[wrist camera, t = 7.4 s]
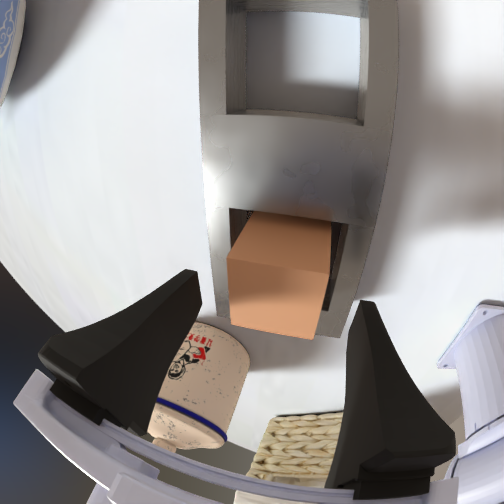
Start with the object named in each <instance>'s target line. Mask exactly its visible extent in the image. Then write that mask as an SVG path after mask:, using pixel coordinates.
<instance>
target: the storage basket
mask: <svg viewBox="0 0 504 504" xmlns="http://www.w3.org/2000/svg"><path fill="white" fill-rule="evenodd" d="M342 417H343V412H340V413H335V414H333V413H328V414H322V415H319V416H316V415H305V416H301V417H299V416H289V417H275V418H272V419H271V420H270V421H269V423H268V427H267V429H266V431H265V433H264V435H263V439H262V440H261V442H260V445H259V448H258V450H257V454H256V455H255V456H254V462H253V463H252V464H251V469H250V470H249V472H248V473H247V474H246V476H249V477H253V478H258V479H262V480H267V481H272V482H278V483H284V484H290V485H298V486H306V487H315V488H324V486H325V483H326V480H327V477H328V474H329V471H330V467H331V464H332V461H333V457H334V453H335V449H336V445H337V441H338V437H339V432H340V428H341V423H342ZM234 504H316V503H305V502H297V501H289V500H282V499H276V498H271V497H265V496H260V495H255V494H251V493H247V492H242V491H238V490H236V493H235V500H234Z"/></svg>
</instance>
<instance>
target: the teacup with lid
mask: <svg viewBox="0 0 504 504" xmlns="http://www.w3.org/2000/svg"><path fill="white" fill-rule="evenodd" d="M249 366H250V358H249V355H248V353H247V351H246V350H245V348H244V347H243V346H242V345H241V344H240V343H239V342H238V341H237V340H236V339H235V338H233V337H232V336H230V335H229V334H227V333H226V332H224V331H222V330H220V329H218V328H215V327H213V326H210V325H207V324H203V323H198V322H195V323H194V324H193V326H192V328H191V330H190V332H189V333H188V335H187V337H186V339H185V340H184V342H183V344H182V345H181V347H180V349H179V351H178V352H177V354H176V356H175V358H174V359H173V361H172V363H171V365H170V368H169V370H168V372H167V375H166V377H165V379H164V382H163V384H162V387H161V390H160V392H159V395H158V398H157V401H156V404H155V407H154V410H153V413H152V416H151V420H150V423H149V427H148V432H149V433H150V434H151V435H152V436H153V437H155V438H156V439H154V440H153V443H152V444H154V445H157V446H159V447H161V448H163V449H166V450H168V451H171V452H173V453H175V451H176V448H180V449H194V448H218V447H221V446H222V445H223V444H224V442H226V441H227V435H226V433H227V430H228V427H229V424H230V421H231V419H232V416H233V413H234V410H235V407H236V405H237V402H238V399H239V396H240V393H241V390H242V387H243V384H244V381H245V378H246V376H247V373H248V370H249Z"/></svg>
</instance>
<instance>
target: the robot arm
mask: <svg viewBox="0 0 504 504" xmlns="http://www.w3.org/2000/svg"><path fill="white" fill-rule="evenodd" d="M201 306H202V299H201V292H200V286H199V280H198V273H197V271H193V270H188V269H185V270H183V271H182V272H180V273H179V274H177V275H176V276H174V277H173V278H171V279H170V280H169V281H167V282H166V283H164V284H163V285H162V286H160V287H159V288H157V289H156V290H154V291H153V292H151V293H150V294H148V295H147V296H145V297H144V298H142V299H140V300H139V301H137V302H136V303H134V304H133V305H131V306H129V307H127V308H126V309H124V310H122V311H120V312H118V313H116V314H114V315H112V316H110V317H108V318H105V319H103V320H101V321H98V322H96V323H94V324H91V325H88V326H86V327H83V328H80V329H76V330H73V331H70V332H65V333H61V334H57V335H53V336H51V338H50V339H49V340H48V341H47V343H46V344H45V345H44V347H43V348H42V349H41V350H40V352H39V353H38V356H39V359H40V360H41V361H42V362H43V364H44V365H45V366H46V367H47V369H48V370H49V371H50V372H51V373H52V374H53V375H54V376H55V378H56V381H55V382H52V380H50V379H49V378H48V377H47V376H45V375H44V374H43V373H41V372H40V371H39V370H38V369H36V370H35V372H34V373H33V375H32V376H31V377H30V379H29V380H28V382H27V383H26V384H25V386H24V387H23V389H22V390H21V392H20V393H19V395H18V396H17V398H16V399H15V401H14V402H13V403H14V405H15V406H16V407H17V408H18V409H19V410H20V411H21V412H22V414H23V415H24V416H25V417H26V418H27V419H28V420H29V421H30V422H31V423H32V424H33V425H34V426H35V427H36V428H37V429H38V430H39V431H40V433H42V435H43V436H44V437H45V438H47V440H48V441H49V442H50V443H51V444H52V445H53V446H55V447H56V448H57V449H58V450H59V451H60V452H61V453H62V454H63V455H64V456H65V457H67V458H68V459H69V460H70V461H71V462H72V463H73V464H75V465H76V466H77V467H78V468H79V469H81V470H82V471H83V472H84V473H86V474H87V475H88V476H89V477H91V478H92V479H93V480H95V481H96V482H97V484H96V486H95V488H94V490H93V492H92V494H91V496H90V498H89V500H88V502H87V503H86V504H223V503H219V502H216V501H213V500H210V499H207V498H204V497H200V496H197V495H195V494H192V493H189V492H186V491H183V490H181V489H178V488H176V487H174V486H171V485H169V484H166V483H164V482H162V481H159V480H157V476H158V474H159V472H160V471H159V469H157V468H155V467H153V466H151V465H150V464H148V463H146V462H145V461H143V460H142V459H140V458H138V457H136V456H134V455H132V454H130V453H128V452H127V451H126V448H125V447H127V448H129V449H131V450H133V451H135V452H137V453H139V454H141V455H143V456H145V457H147V458H149V459H151V460H153V461H156V462H158V463H160V464H163V465H165V466H167V467H169V468H172V469H175V470H177V471H179V472H182V473H185V474H187V475H190V476H193V477H195V478H198V479H201V480H204V481H207V482H211V483H213V484H217V485H220V486H224V487H227V488H231V489H234V490H238V491H242V492H247V493H251V494H255V495H260V496H265V497H271V498H276V499H282V500H289V501H297V502H305V503H316V504H504V307H501V306H493V305H484V304H481V305H479V306H477V307H476V309H475V310H474V312H473V314H472V315H471V317H470V318H469V320H468V321H467V323H466V324H465V326H464V327H463V329H462V330H461V332H460V333H459V335H458V336H457V337H456V339H455V340H454V342H453V343H452V344H451V346H450V347H449V348H448V350H447V351H446V352H445V353H444V355H443V356H442V357H441V359H440V360H439V361H438V362H437V368H445V369H457V374H458V380H459V385H460V392H461V398H462V406H463V414H464V424H465V438H466V441H465V442H463V443H462V444H460V445H458V455H457V456H456V457H455V458H454V459H453V460H452V462H451V463H450V465H449V467H448V470H447V473H446V475H445V478H444V479H442V480H437V481H433V482H430V476H433V475H434V469H435V467H437V466H439V465H441V464H443V463H445V462H447V461H449V460H450V459H452V458H453V457H454V456H455V454H456V440H455V432H454V431H453V430H452V429H451V428H450V427H449V426H448V425H447V424H446V423H445V422H444V421H443V420H442V419H441V418H440V416H439V415H438V414H437V413H436V412H435V410H434V409H433V408H432V407H431V406H430V404H429V403H428V402H427V400H426V399H425V397H424V396H423V395H422V393H421V392H420V391H419V389H418V388H417V386H416V385H415V383H414V382H413V380H412V379H411V377H410V375H409V374H408V372H407V370H406V368H405V367H404V365H403V363H402V361H401V359H400V357H399V355H398V353H397V351H396V349H395V347H394V345H393V343H392V341H391V339H390V337H389V335H388V332H387V330H386V328H385V326H384V323H383V321H382V319H381V316H380V314H379V311H378V309H377V307H376V304H375V303H374V302H371V301H365V300H360V303H359V305H358V308H357V311H356V314H355V316H354V319H353V322H352V324H351V327H350V329H349V333H348V342H347V351H346V393H345V405H344V411H343V417H342V423H341V428H340V432H339V437H338V441H337V445H336V449H335V453H334V457H333V461H332V464H331V467H330V471H329V474H328V477H327V480H326V483H325V486H324V488H315V487H306V486H298V485H290V484H284V483H278V482H272V481H267V480H262V479H258V478H253V477H249V476H244V475H240V474H237V473H233V472H229V471H225V470H222V469H219V468H215V467H212V466H209V465H206V464H203V463H200V462H197V461H194V460H191V459H188V458H186V457H183V456H181V455H178V454H175V453H173V452H171V451H168V450H166V449H163V448H161V447H159V446H157V445H154V444H152V443H150V442H148V441H146V440H144V439H141V438H139V437H137V436H135V435H133V434H131V433H129V432H127V431H126V430H129V431H131V432H133V433H135V434H137V435H139V436H143V435H145V434H147V431H148V427H149V423H150V420H151V416H152V413H153V410H154V407H155V404H156V401H157V398H158V395H159V392H160V390H161V387H162V384H163V382H164V379H165V377H166V375H167V372H168V370H169V368H170V365H171V363H172V361H173V359H174V358H175V356H176V354H177V352H178V351H179V349H180V347H181V345H182V344H183V342H184V340H185V339H186V337H187V335H188V333H189V332H190V330H191V328H192V326H193V324H194V323H195V321H196V318H197V316H198V313H199V311H200V308H201ZM120 427H122V428H124V429H125V430H124V429H122V428H120Z"/></svg>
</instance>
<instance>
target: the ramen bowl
mask: <svg viewBox="0 0 504 504" xmlns="http://www.w3.org/2000/svg"><path fill="white" fill-rule="evenodd" d="M25 10H26V0H0V107H1V106H2V104H3V101H4V99H5V96H6V94H7V91H8V88H9V84H10V81H11V78H12V74H13V71H14V68H15V66H16V61H17V56H18V54H19V50H20V45H21V40H22V35H23V26H24V18H25Z"/></svg>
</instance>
